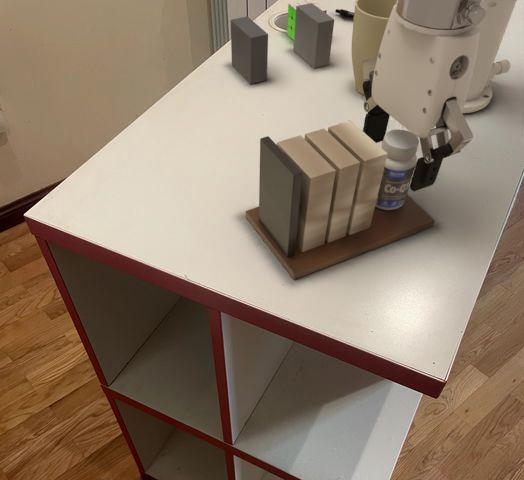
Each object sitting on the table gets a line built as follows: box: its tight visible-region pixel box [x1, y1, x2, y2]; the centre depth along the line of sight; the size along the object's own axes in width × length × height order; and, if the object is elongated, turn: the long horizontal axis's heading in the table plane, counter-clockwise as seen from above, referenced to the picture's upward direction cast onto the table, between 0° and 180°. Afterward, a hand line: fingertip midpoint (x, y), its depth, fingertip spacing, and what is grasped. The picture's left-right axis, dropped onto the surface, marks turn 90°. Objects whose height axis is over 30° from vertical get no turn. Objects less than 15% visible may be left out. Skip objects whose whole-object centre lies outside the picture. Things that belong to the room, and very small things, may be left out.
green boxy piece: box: [286, 0, 328, 41], centre depth 91 cm, size 5×5×5 cm
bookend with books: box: [245, 120, 436, 280], centre depth 59 cm, size 20×12×12 cm, turn 118°
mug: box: [351, 0, 397, 96], centre depth 78 cm, size 11×10×12 cm
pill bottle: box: [375, 129, 420, 210], centre depth 62 cm, size 5×5×8 cm
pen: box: [334, 8, 354, 20], centre depth 96 cm, size 14×2×1 cm, turn 58°
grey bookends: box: [230, 3, 335, 85], centre depth 84 cm, size 15×7×7 cm, turn 118°
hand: (395, 163), depth 61 cm, fingers open, 9 cm apart
